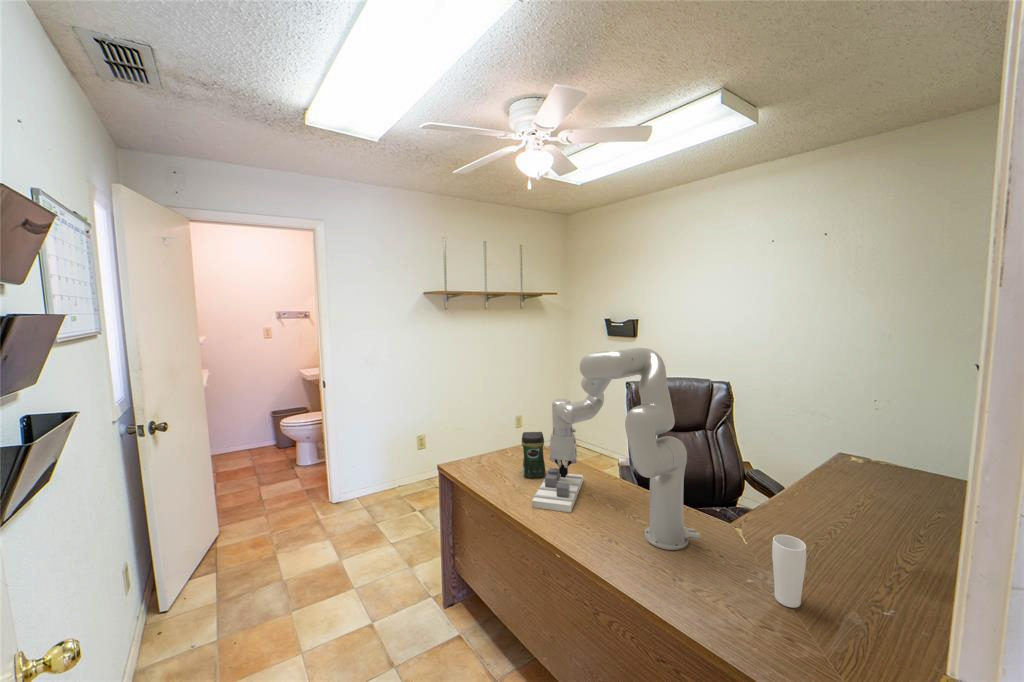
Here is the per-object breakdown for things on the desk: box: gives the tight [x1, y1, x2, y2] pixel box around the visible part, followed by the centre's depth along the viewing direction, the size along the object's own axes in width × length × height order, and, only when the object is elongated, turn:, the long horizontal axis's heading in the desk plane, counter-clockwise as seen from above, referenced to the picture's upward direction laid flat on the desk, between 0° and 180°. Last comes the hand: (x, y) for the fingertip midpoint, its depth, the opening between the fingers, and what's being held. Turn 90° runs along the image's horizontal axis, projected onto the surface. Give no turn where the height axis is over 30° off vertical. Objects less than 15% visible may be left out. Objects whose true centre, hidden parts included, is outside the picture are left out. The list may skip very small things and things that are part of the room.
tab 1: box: [547, 467, 560, 481], centre depth 168 cm, size 4×4×3 cm
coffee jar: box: [520, 431, 546, 479], centre depth 178 cm, size 10×8×19 cm
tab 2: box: [544, 473, 558, 488], centre depth 162 cm, size 4×4×3 cm
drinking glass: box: [771, 534, 807, 609], centre depth 101 cm, size 7×7×15 cm
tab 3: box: [557, 483, 570, 498], centre depth 154 cm, size 4×4×3 cm
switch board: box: [531, 472, 584, 513], centre depth 161 cm, size 14×26×3 cm, turn 161°
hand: (563, 476), depth 167 cm, fingers closed
